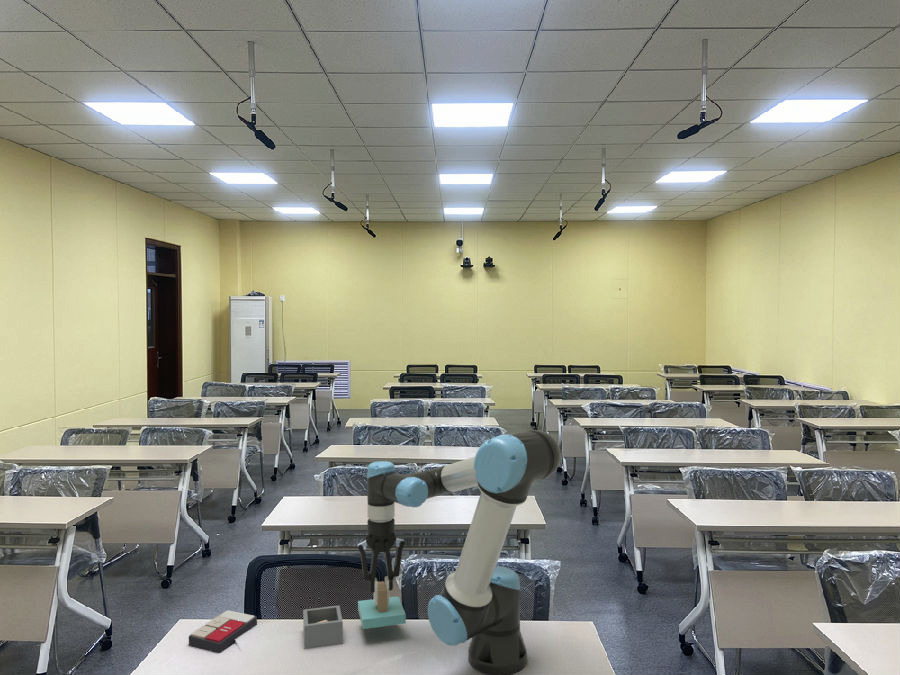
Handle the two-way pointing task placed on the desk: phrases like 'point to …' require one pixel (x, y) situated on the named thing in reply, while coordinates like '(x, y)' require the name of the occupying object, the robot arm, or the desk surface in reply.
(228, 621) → the calculator
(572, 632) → the desk surface
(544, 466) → the robot arm
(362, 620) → the lid
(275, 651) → the desk surface
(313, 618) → the storage box
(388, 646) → the desk surface
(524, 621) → the desk surface
